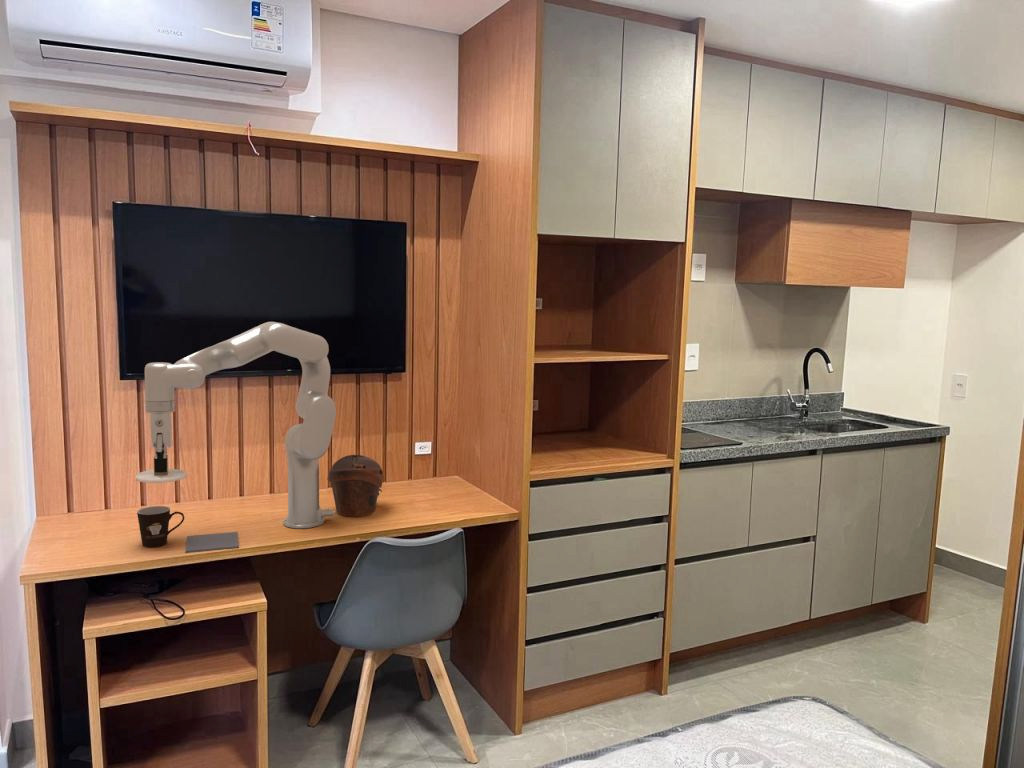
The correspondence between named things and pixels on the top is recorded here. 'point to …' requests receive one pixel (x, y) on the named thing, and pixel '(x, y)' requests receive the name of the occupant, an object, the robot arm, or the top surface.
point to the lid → (161, 475)
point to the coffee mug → (155, 525)
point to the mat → (212, 542)
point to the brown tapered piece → (355, 485)
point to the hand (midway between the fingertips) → (161, 469)
